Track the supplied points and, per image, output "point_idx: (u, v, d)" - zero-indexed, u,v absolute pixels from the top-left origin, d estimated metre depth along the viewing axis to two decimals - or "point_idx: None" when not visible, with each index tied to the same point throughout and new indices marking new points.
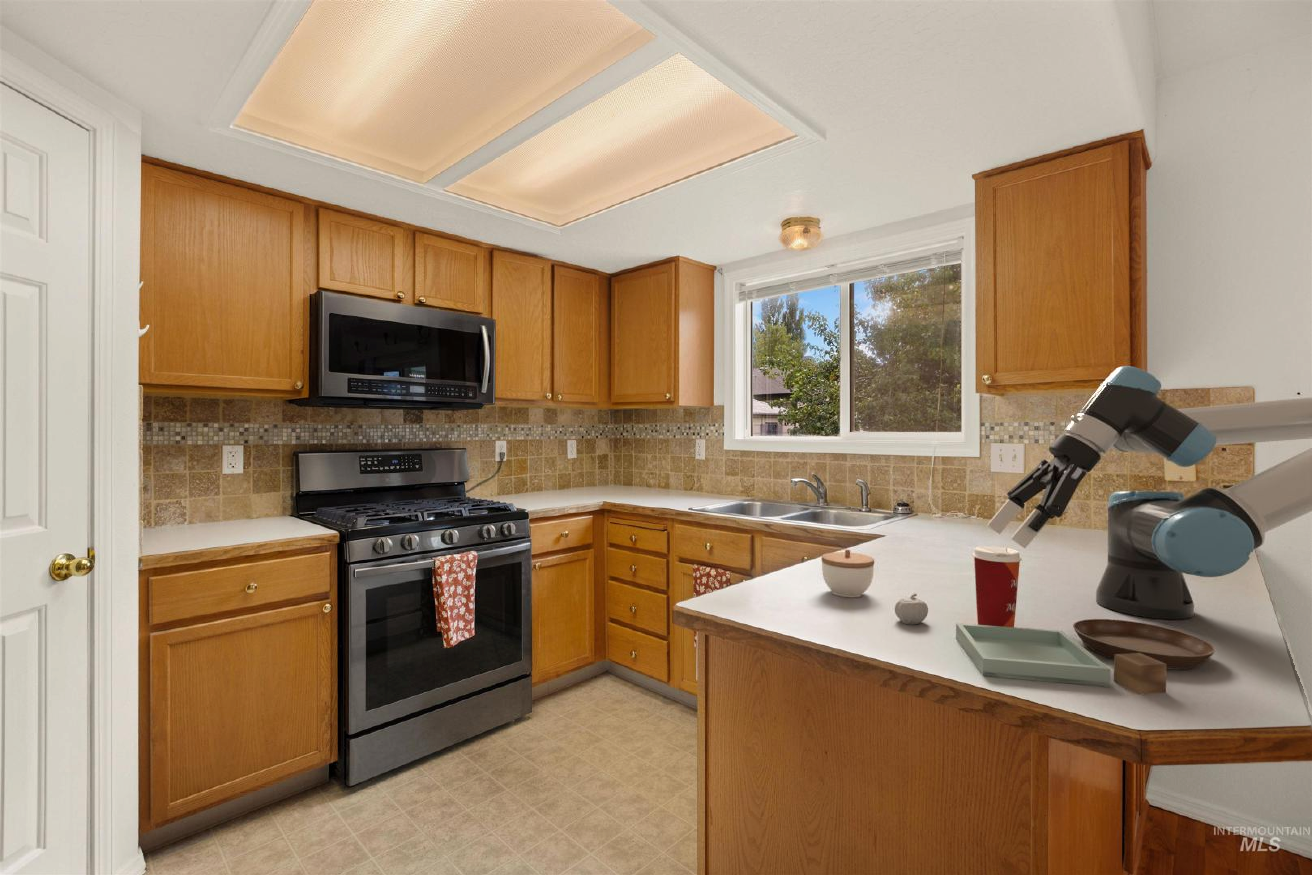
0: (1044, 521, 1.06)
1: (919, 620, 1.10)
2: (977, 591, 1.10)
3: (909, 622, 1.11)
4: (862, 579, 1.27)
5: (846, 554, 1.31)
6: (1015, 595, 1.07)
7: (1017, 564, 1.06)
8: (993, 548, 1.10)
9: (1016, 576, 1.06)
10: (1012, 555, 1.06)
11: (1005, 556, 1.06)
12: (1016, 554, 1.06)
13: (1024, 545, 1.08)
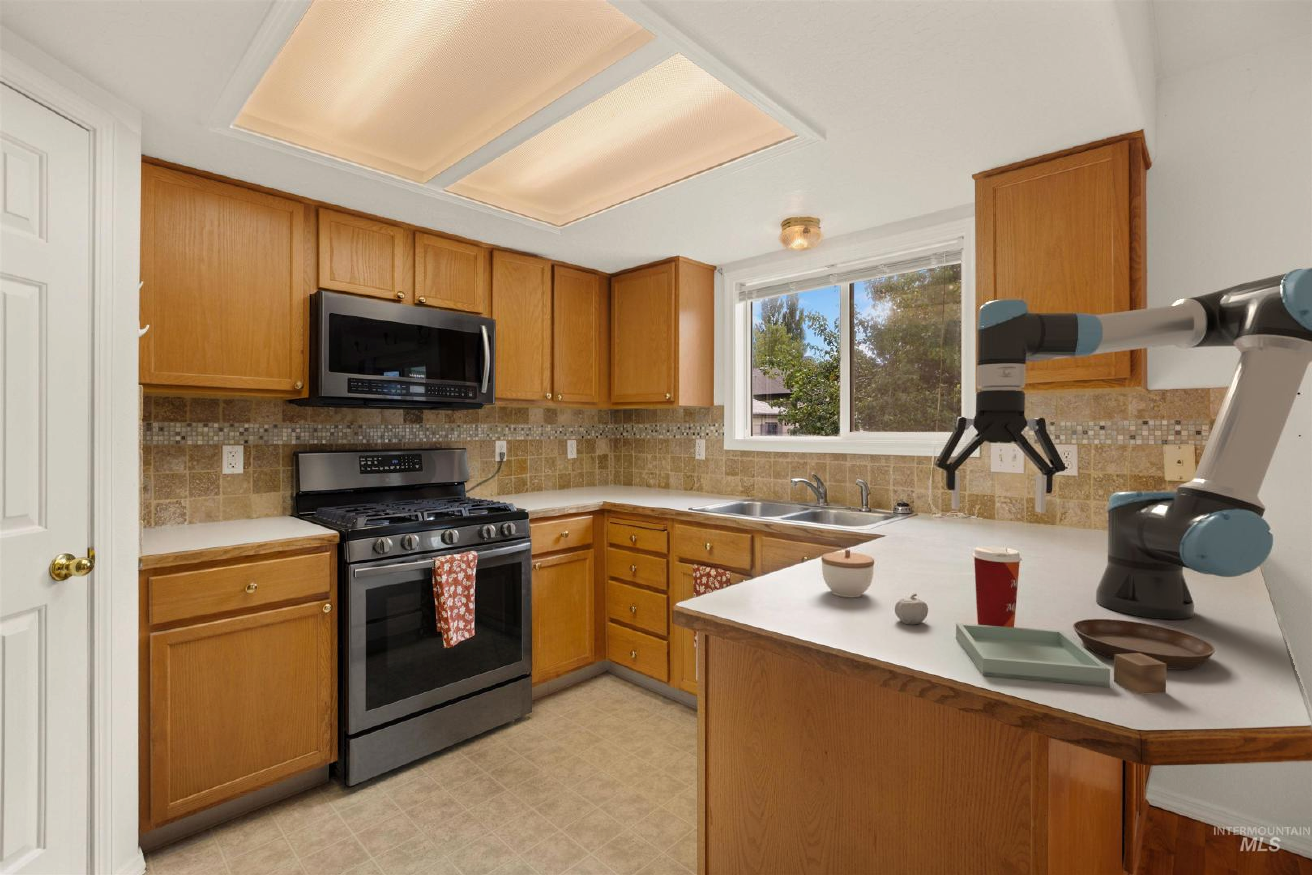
0: None
1: (919, 620, 1.10)
2: (977, 591, 1.10)
3: (909, 622, 1.11)
4: (862, 579, 1.27)
5: (846, 554, 1.31)
6: (1015, 595, 1.07)
7: (1017, 564, 1.06)
8: (993, 548, 1.10)
9: (1016, 576, 1.06)
10: (1012, 555, 1.06)
11: (1005, 556, 1.06)
12: (1016, 554, 1.06)
13: None
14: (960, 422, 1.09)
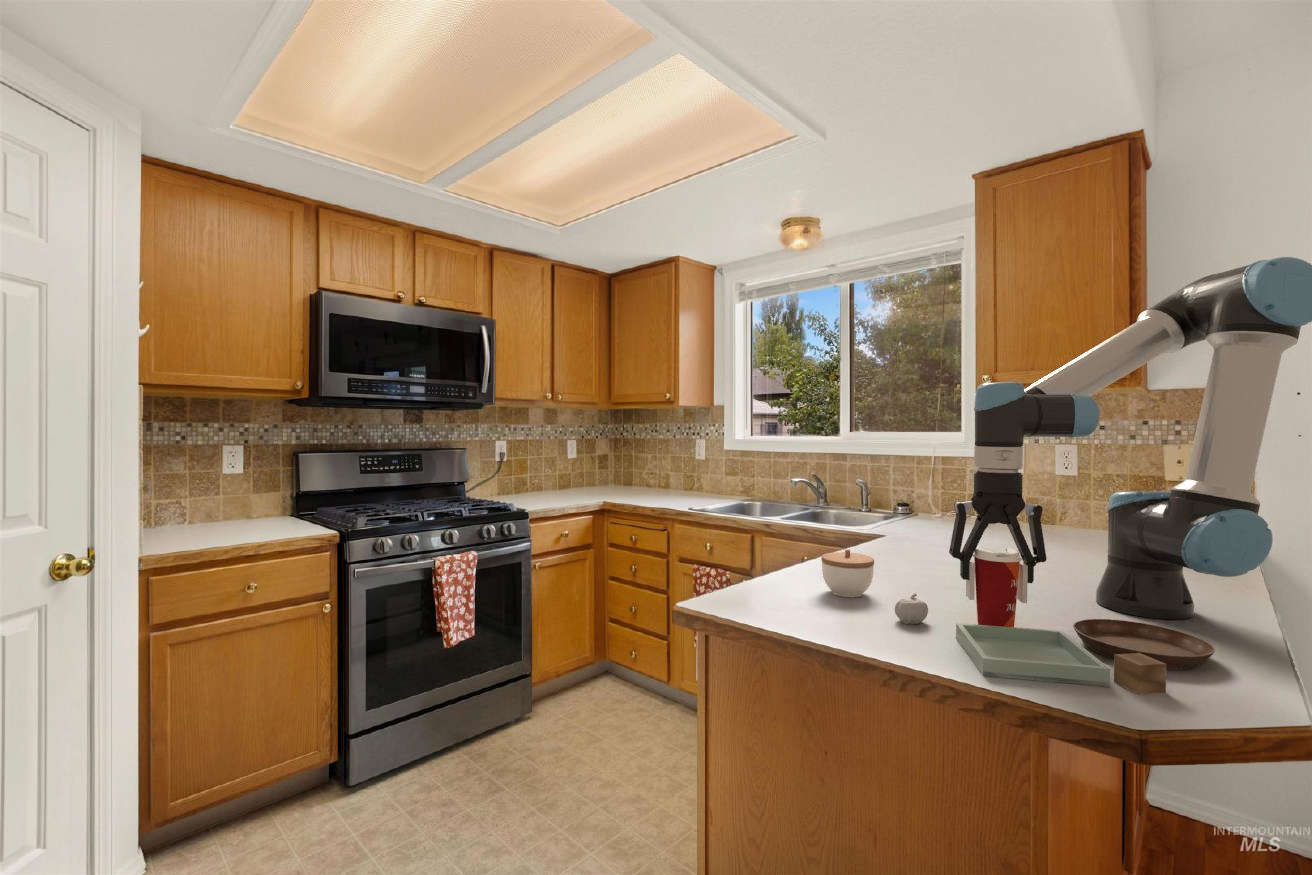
0: None
1: (919, 620, 1.10)
2: (977, 591, 1.10)
3: (909, 622, 1.11)
4: (862, 579, 1.27)
5: (846, 554, 1.31)
6: (1015, 595, 1.07)
7: (1017, 564, 1.06)
8: (993, 548, 1.10)
9: (1016, 576, 1.06)
10: (1012, 555, 1.06)
11: (1005, 556, 1.06)
12: (1016, 554, 1.06)
13: None
14: (959, 509, 1.09)
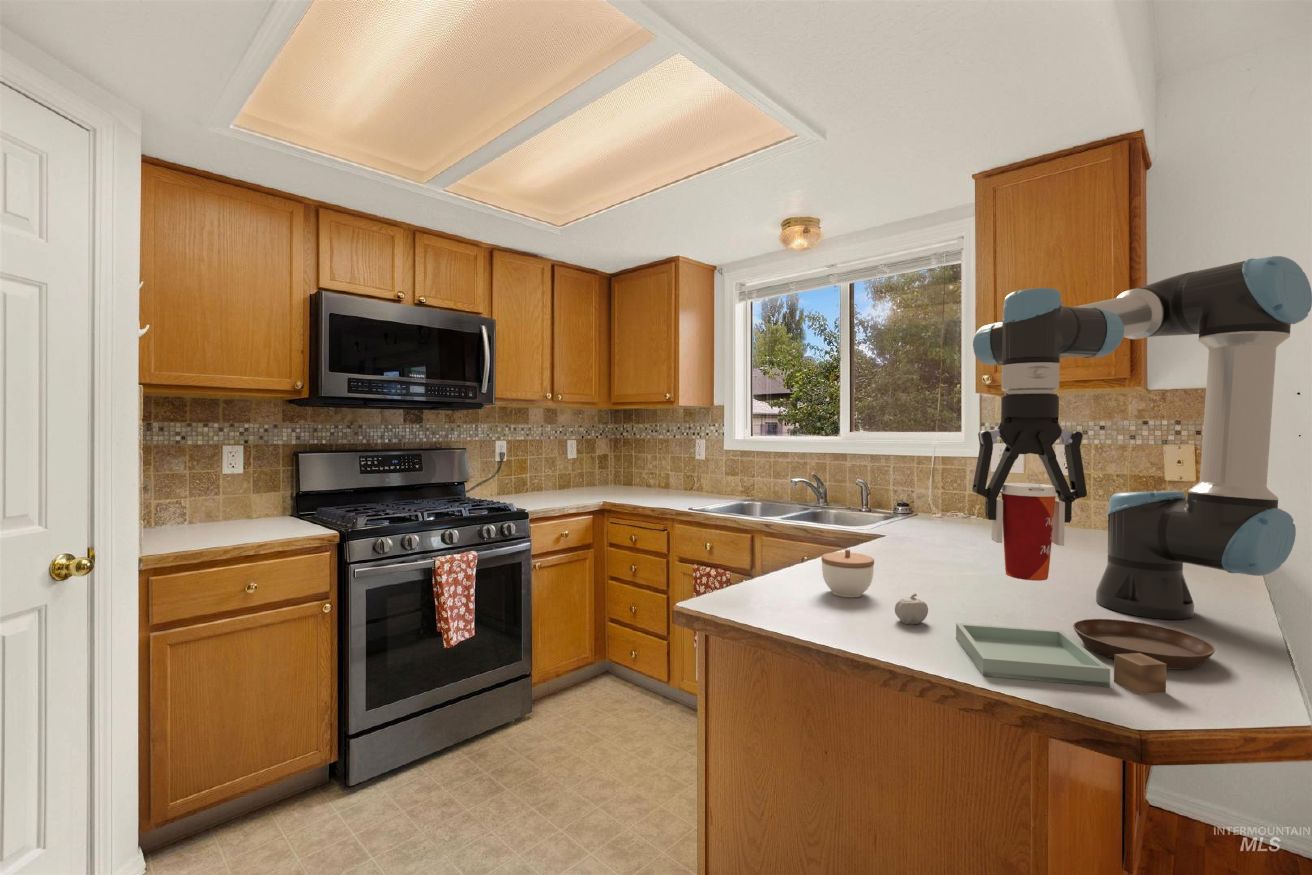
0: None
1: (919, 620, 1.10)
2: (1005, 533, 0.95)
3: (909, 622, 1.11)
4: (862, 579, 1.27)
5: (846, 554, 1.31)
6: (1050, 536, 0.92)
7: (1053, 499, 0.91)
8: (1023, 484, 0.95)
9: (1051, 514, 0.92)
10: (1047, 489, 0.91)
11: (1039, 490, 0.91)
12: (1052, 488, 0.91)
13: None
14: (985, 438, 0.94)
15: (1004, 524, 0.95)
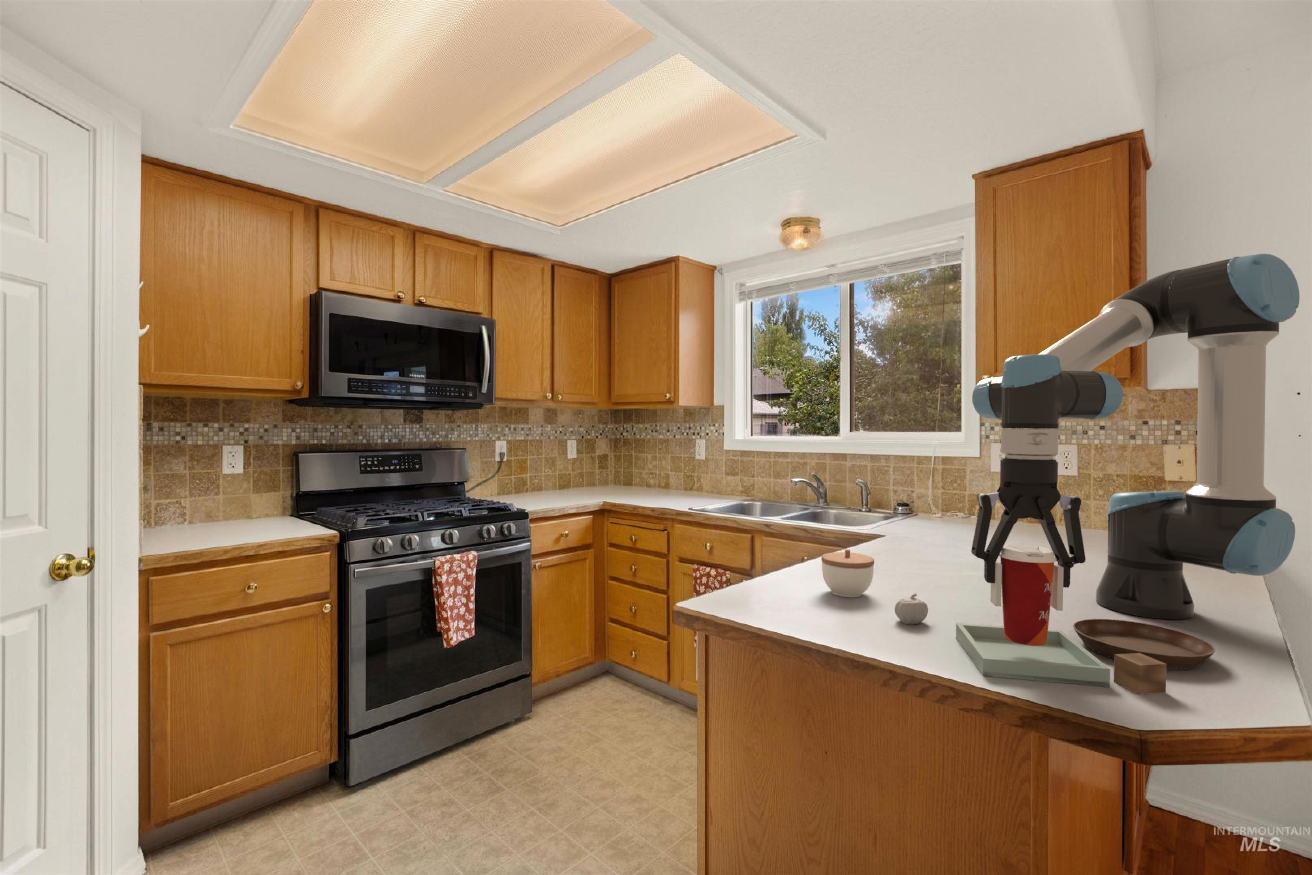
0: None
1: (919, 620, 1.10)
2: (1004, 596, 0.95)
3: (909, 622, 1.11)
4: (862, 579, 1.27)
5: (846, 554, 1.31)
6: (1049, 601, 0.92)
7: (1051, 565, 0.92)
8: (1022, 547, 0.96)
9: (1050, 579, 0.92)
10: (1046, 555, 0.91)
11: (1038, 556, 0.91)
12: (1051, 553, 0.92)
13: None
14: (984, 501, 0.95)
15: (1003, 587, 0.95)
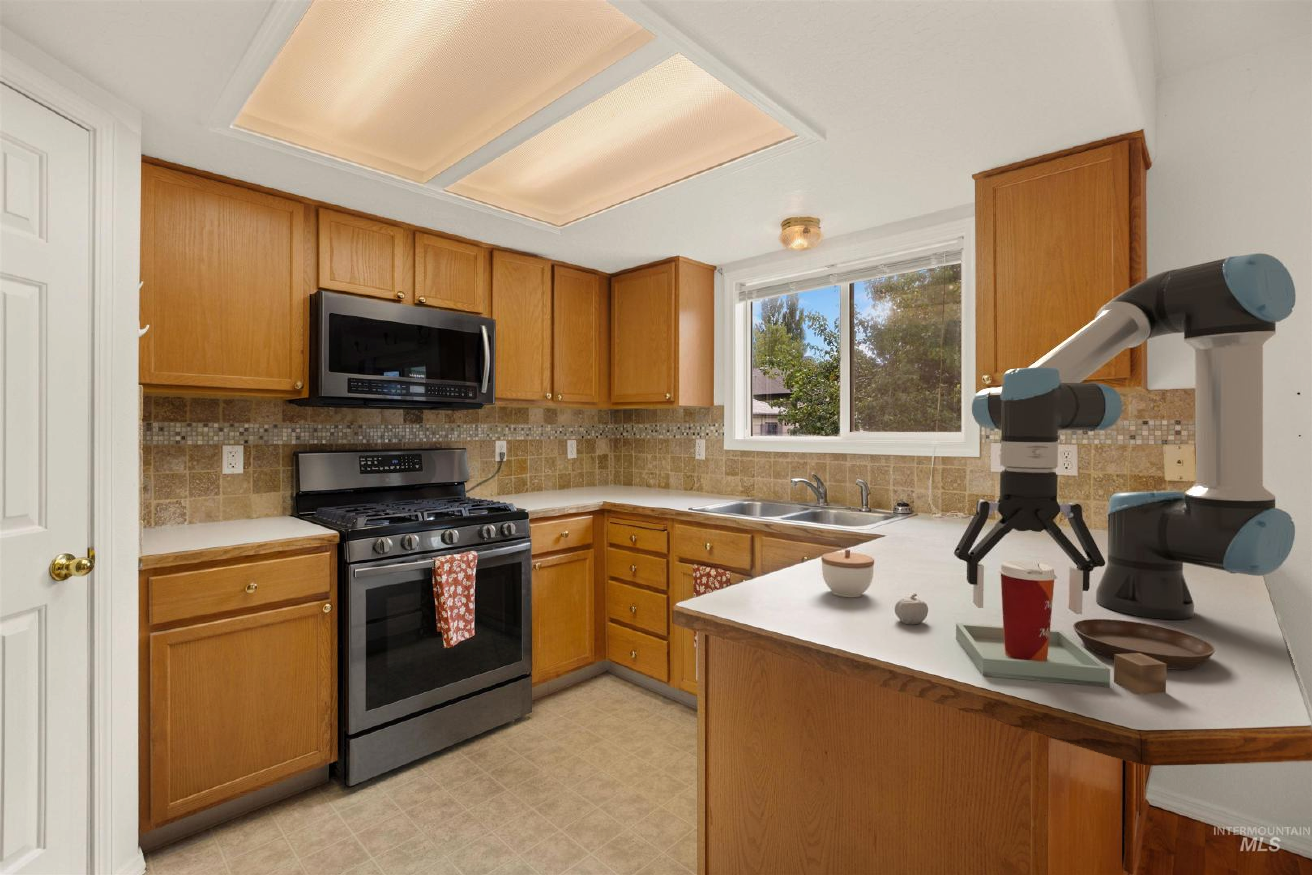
0: None
1: (919, 620, 1.10)
2: (1004, 613, 0.95)
3: (909, 622, 1.11)
4: (862, 579, 1.27)
5: (846, 554, 1.31)
6: (1049, 618, 0.92)
7: (1052, 582, 0.92)
8: (1023, 563, 0.96)
9: (1050, 596, 0.92)
10: (1046, 572, 0.91)
11: (1038, 573, 0.91)
12: (1051, 571, 0.92)
13: None
14: (982, 507, 0.95)
15: (1003, 604, 0.95)
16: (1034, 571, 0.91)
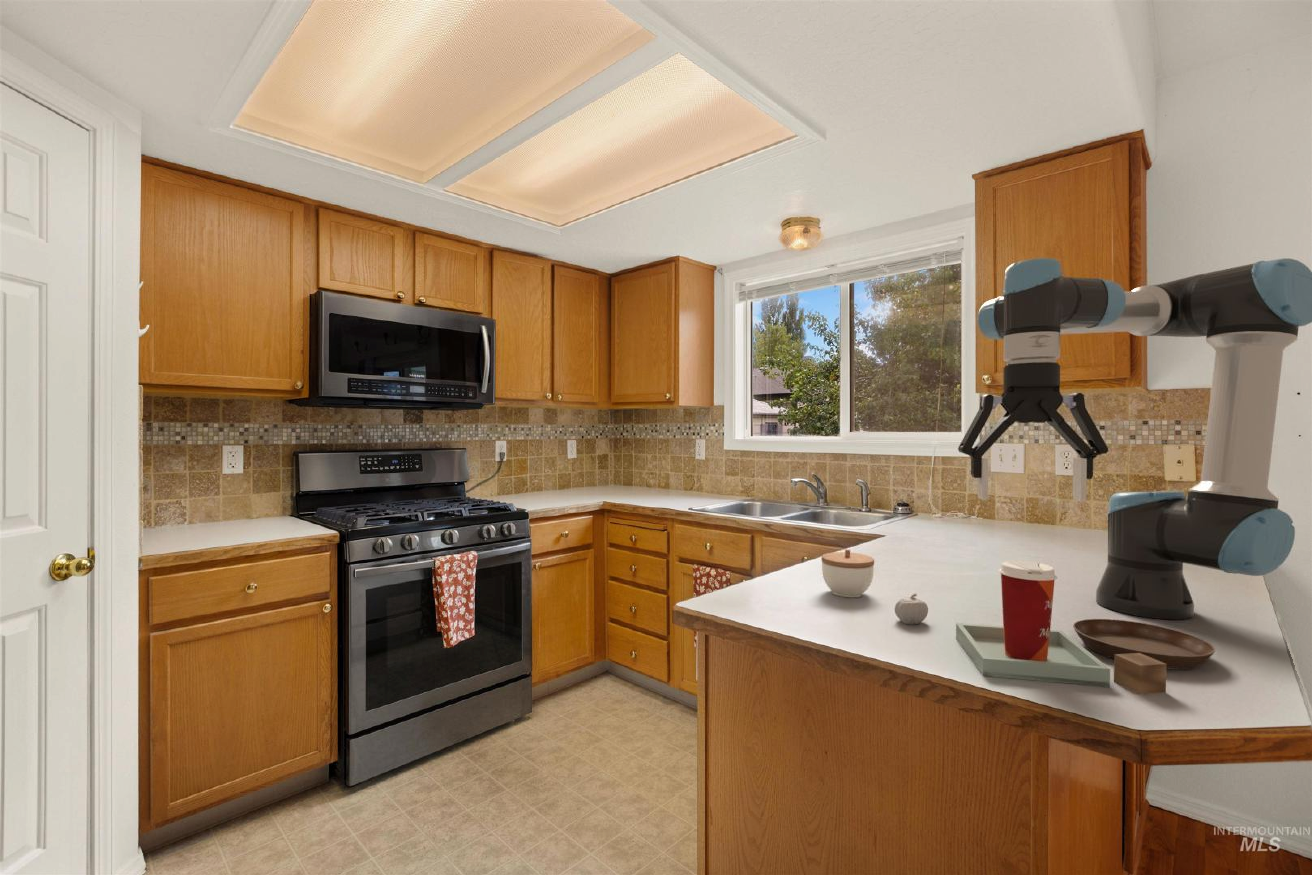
0: None
1: (919, 620, 1.10)
2: (1005, 613, 0.95)
3: (909, 622, 1.11)
4: (862, 579, 1.27)
5: (846, 554, 1.31)
6: (1049, 618, 0.92)
7: (1052, 582, 0.92)
8: (1023, 563, 0.96)
9: (1051, 596, 0.92)
10: (1046, 572, 0.91)
11: (1038, 573, 0.91)
12: (1051, 571, 0.92)
13: None
14: (986, 400, 0.96)
15: (1003, 604, 0.95)
16: (1034, 571, 0.91)
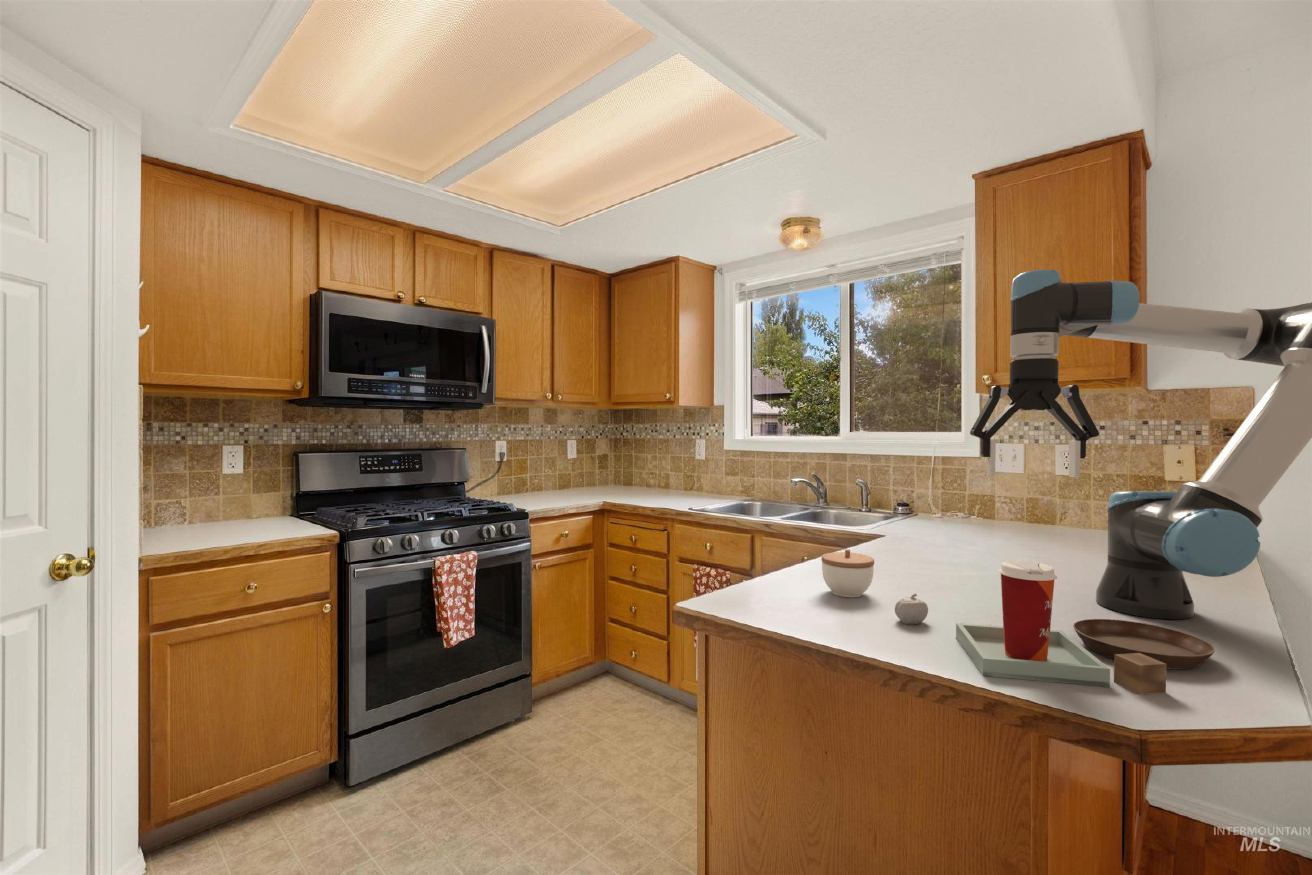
0: None
1: (919, 620, 1.10)
2: (1004, 613, 0.95)
3: (909, 622, 1.11)
4: (862, 579, 1.27)
5: (846, 554, 1.31)
6: (1049, 618, 0.92)
7: (1052, 583, 0.92)
8: (1023, 563, 0.96)
9: (1051, 596, 0.92)
10: (1046, 572, 0.91)
11: (1038, 573, 0.91)
12: (1051, 571, 0.92)
13: None
14: (995, 391, 1.12)
15: (1003, 604, 0.95)
16: (1034, 571, 0.91)
